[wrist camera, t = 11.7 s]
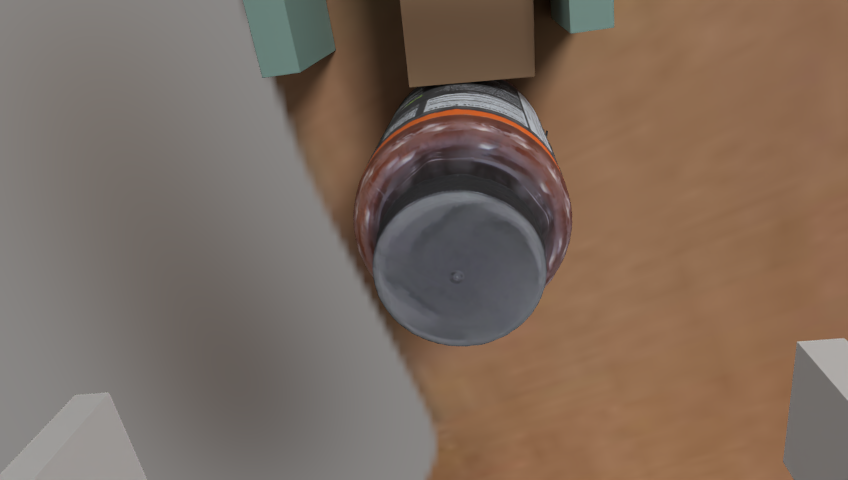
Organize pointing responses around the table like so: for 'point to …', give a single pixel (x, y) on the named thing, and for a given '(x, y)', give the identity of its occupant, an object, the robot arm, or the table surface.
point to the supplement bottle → (462, 212)
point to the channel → (313, 40)
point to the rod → (467, 40)
